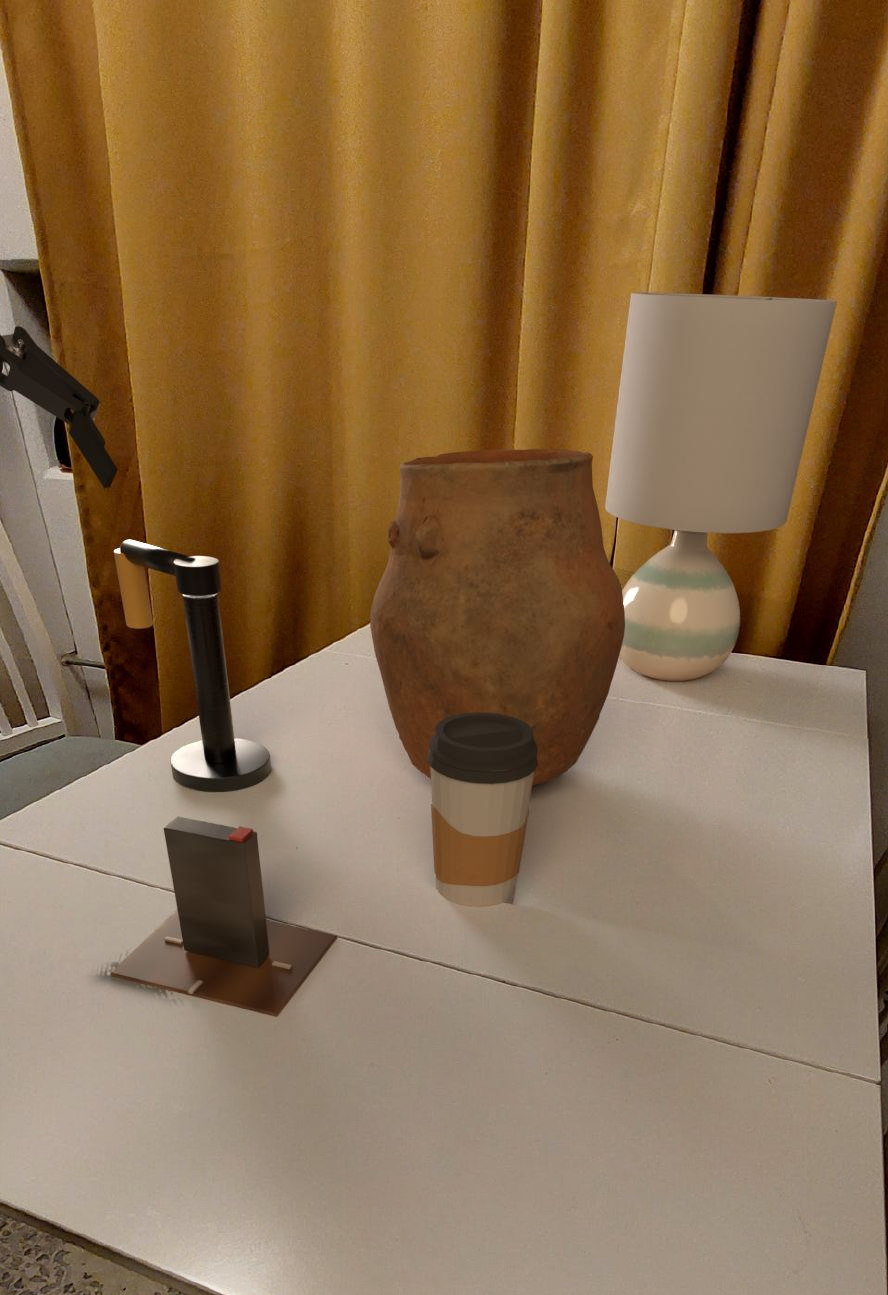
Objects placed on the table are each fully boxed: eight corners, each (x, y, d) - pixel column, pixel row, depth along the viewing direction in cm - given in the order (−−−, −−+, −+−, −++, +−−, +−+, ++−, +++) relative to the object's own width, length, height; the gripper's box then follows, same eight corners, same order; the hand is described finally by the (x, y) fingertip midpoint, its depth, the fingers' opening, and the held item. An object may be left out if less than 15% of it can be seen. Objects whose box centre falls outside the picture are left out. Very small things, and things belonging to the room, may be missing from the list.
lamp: (636, 634, 138) (687, 293, 113) (776, 669, 127) (866, 301, 103) (554, 671, 124) (593, 291, 100) (704, 713, 114) (788, 301, 89)
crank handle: (237, 648, 90) (227, 559, 85) (203, 658, 87) (192, 566, 82) (148, 618, 96) (135, 533, 92) (115, 626, 94) (99, 540, 89)
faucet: (153, 782, 94) (121, 601, 84) (204, 745, 102) (181, 574, 91) (242, 799, 92) (221, 614, 81) (287, 759, 100) (273, 586, 89)
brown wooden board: (114, 996, 67) (108, 971, 66) (188, 922, 75) (185, 899, 73) (278, 1037, 64) (275, 1012, 63) (338, 956, 72) (337, 932, 70)
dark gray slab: (184, 951, 68) (162, 824, 62) (196, 937, 69) (176, 812, 63) (258, 968, 67) (243, 840, 60) (270, 954, 68) (256, 828, 62)
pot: (486, 712, 112) (502, 420, 94) (651, 777, 99) (707, 453, 80) (328, 768, 98) (311, 440, 80) (494, 853, 85) (520, 483, 67)
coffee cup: (541, 920, 76) (560, 745, 67) (446, 939, 74) (453, 760, 65) (499, 870, 82) (511, 704, 73) (410, 887, 80) (411, 716, 71)
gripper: (35, 322, 102) (144, 496, 104) (-210, 326, 86) (-76, 531, 88) (52, 261, 96) (167, 447, 98) (-208, 254, 80) (-64, 475, 82)
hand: (52, 487), depth 93 cm, fingers open, 13 cm apart
